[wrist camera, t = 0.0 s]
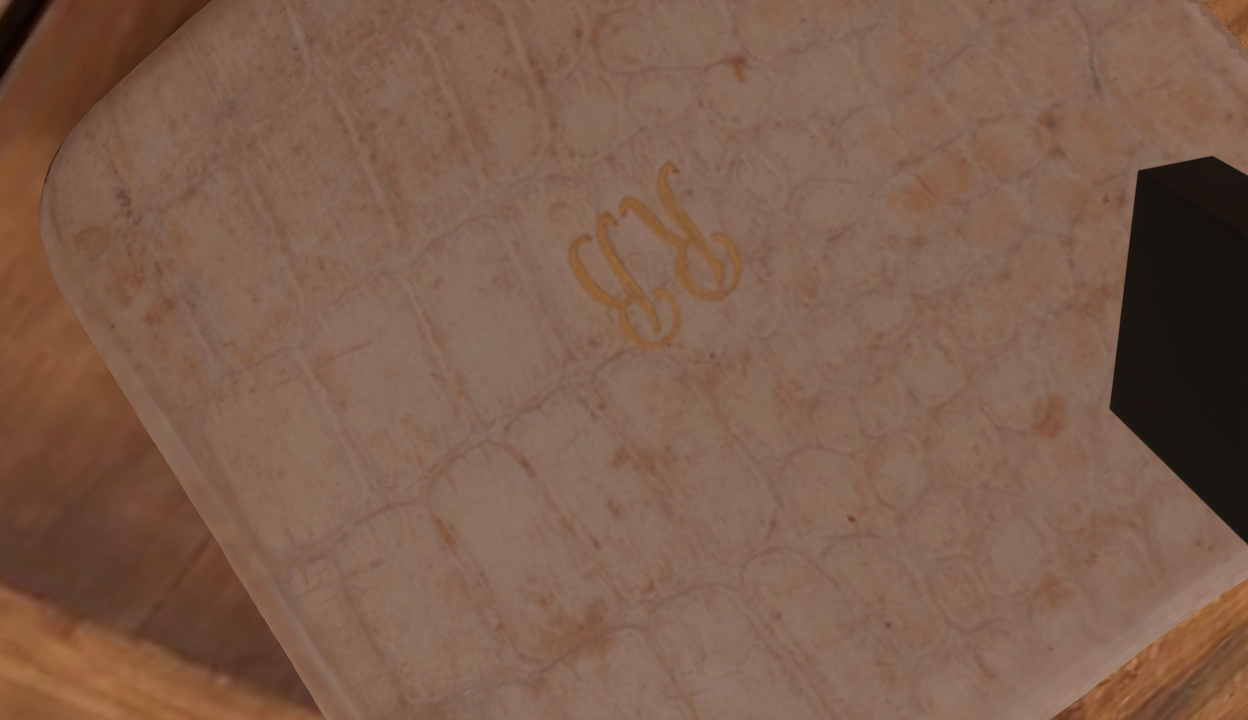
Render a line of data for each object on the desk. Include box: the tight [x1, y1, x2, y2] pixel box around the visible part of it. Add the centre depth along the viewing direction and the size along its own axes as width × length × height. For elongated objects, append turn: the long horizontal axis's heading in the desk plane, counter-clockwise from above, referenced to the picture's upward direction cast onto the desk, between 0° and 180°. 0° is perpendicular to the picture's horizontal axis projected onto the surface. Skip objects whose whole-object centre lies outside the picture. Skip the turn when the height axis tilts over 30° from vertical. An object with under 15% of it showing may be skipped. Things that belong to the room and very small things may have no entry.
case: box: [39, 0, 1248, 720], centre depth 24 cm, size 20×21×16 cm
